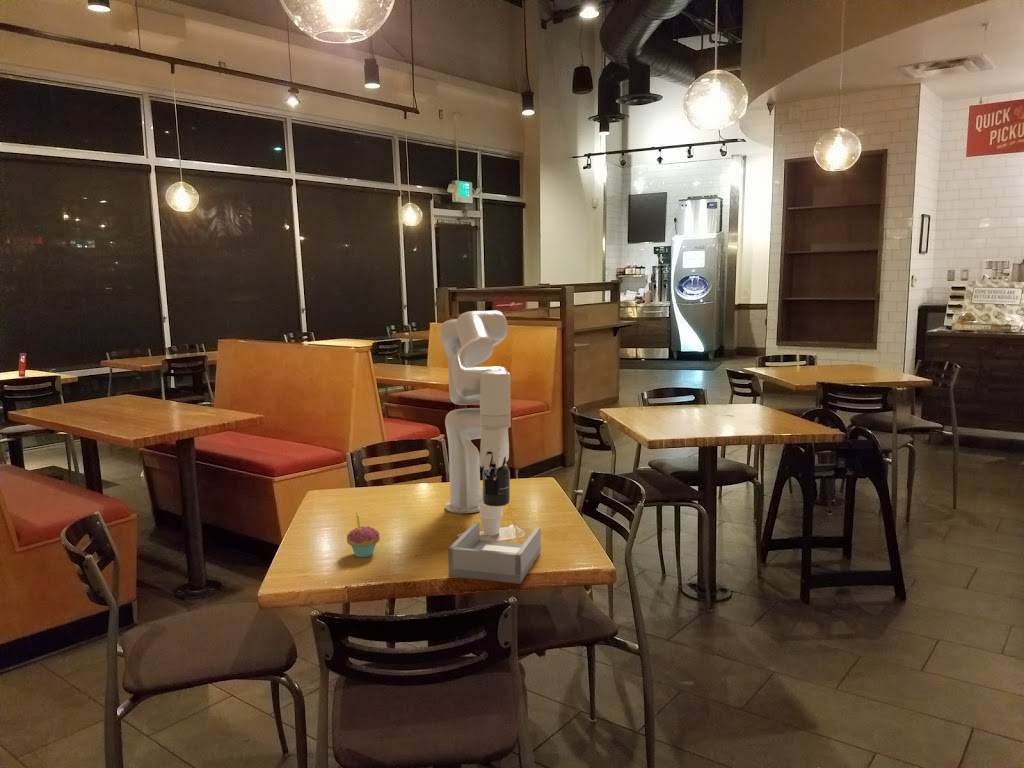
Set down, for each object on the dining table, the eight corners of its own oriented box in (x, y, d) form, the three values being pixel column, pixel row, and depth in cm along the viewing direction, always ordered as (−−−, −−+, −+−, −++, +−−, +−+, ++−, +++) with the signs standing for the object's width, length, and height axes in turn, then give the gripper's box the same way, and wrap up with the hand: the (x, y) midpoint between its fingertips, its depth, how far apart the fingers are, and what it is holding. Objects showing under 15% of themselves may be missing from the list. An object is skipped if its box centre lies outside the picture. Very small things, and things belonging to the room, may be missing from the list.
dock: (475, 546, 194) (475, 521, 193) (540, 553, 189) (540, 527, 188) (448, 576, 175) (448, 548, 174) (520, 583, 170) (520, 555, 169)
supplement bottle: (507, 507, 177) (506, 460, 175) (480, 506, 178) (479, 459, 176) (512, 499, 183) (512, 453, 182) (486, 498, 185) (485, 452, 183)
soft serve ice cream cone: (492, 526, 210) (491, 472, 208) (512, 533, 204) (511, 478, 202) (470, 533, 204) (469, 478, 202) (490, 540, 198) (489, 484, 196)
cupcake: (364, 562, 184) (362, 517, 182) (340, 556, 189) (338, 511, 187) (387, 551, 191) (385, 508, 190) (363, 545, 196) (361, 503, 194)
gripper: (491, 413, 187) (492, 480, 190) (469, 427, 170) (470, 499, 173) (519, 415, 185) (520, 482, 187) (499, 428, 168) (500, 502, 171)
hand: (496, 490), depth 180 cm, fingers closed on supplement bottle, 6 cm apart
